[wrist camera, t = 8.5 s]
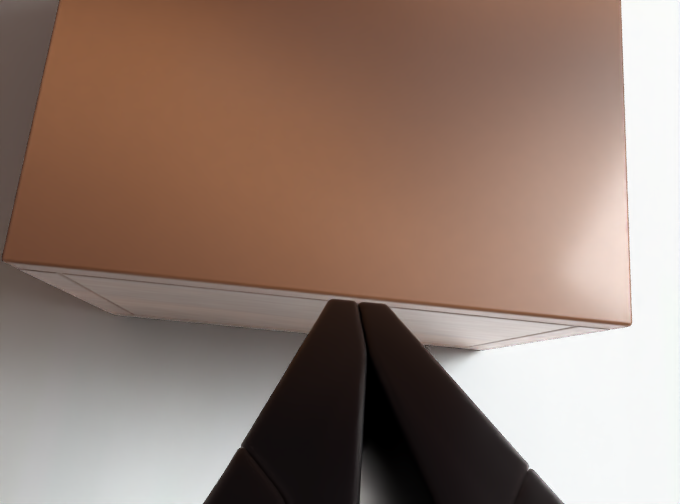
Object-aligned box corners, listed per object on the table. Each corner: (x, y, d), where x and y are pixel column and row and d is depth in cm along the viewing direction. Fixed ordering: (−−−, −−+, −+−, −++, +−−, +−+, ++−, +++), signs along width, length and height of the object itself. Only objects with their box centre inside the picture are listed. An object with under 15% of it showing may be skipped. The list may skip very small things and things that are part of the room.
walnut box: (170, -18, 22) (122, -228, 15) (492, 31, 23) (601, -137, 16) (112, 315, 19) (15, 269, 12) (484, 350, 20) (613, 330, 13)
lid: (127, -253, 15) (121, -284, 14) (600, -161, 16) (616, -185, 15) (14, 269, 12) (-2, 261, 11) (614, 330, 13) (633, 326, 12)
